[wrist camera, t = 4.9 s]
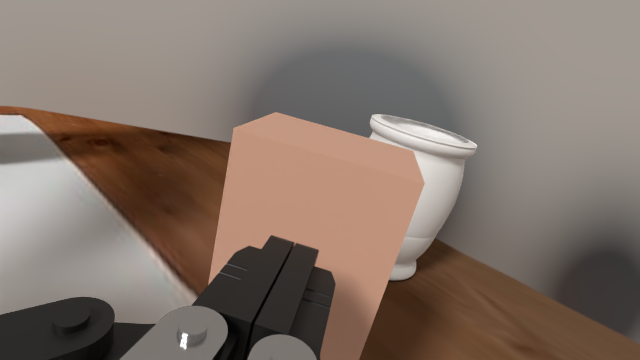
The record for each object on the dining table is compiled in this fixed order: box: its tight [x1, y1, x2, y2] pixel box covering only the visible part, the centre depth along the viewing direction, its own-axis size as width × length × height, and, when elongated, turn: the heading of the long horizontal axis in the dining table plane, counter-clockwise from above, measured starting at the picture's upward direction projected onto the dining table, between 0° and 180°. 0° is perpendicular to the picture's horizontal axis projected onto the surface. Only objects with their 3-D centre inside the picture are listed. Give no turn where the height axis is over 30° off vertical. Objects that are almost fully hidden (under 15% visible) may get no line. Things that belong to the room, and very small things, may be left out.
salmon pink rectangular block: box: [208, 112, 425, 360], centre depth 17 cm, size 5×7×14 cm
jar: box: [370, 114, 477, 280], centre depth 36 cm, size 11×10×15 cm
